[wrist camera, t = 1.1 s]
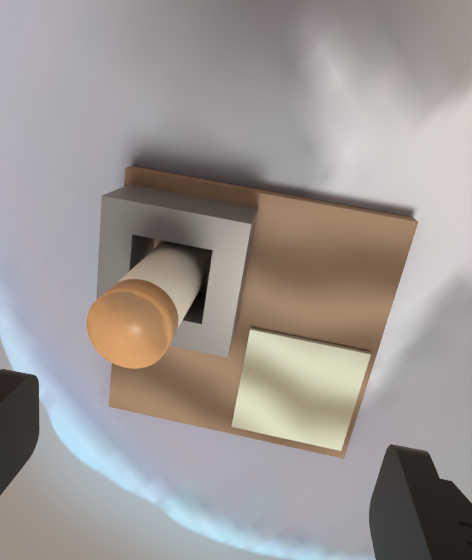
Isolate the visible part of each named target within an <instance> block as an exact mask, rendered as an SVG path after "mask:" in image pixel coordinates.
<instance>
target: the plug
mask: <svg viewBox="0 0 472 560" xmlns="http://www.w3.org/2000/svg"><path fill="white" fill-rule="evenodd" d="M212 253H213V250H209V249H204V248H199V247H194V246H189V245H184V244H178V243H173V242H168V241H162V242H161V243H160V244H159V245H158V246H157V247H156V248H154V249H153V250H152V251H151V252H150V253H149V254H148V255H147V256H146V257H145V258H144V259H142V260H141V261H140V262H139V263H138V264H137V265H136V266H135V267H134V268H133V269H132V270H130V271H129V272H128V273H127V274H126V275H125V276H124V277H123V278H122V279H121V280H119V281H118V282H117V283H116V284H114V285H113V286H112V287H110V288H109V289H108V290H107V291H106V292H105V293H104V294H103V295H101V296H100V297H99V298H98V299H97V300H96V301H95V302H94V303H93V305H92V306H91V308H90V310H89V312H88V315H87V322H86V325H87V333H88V336H89V339H90V341H91V343H92V345H93V346H94V348H95V349H96V350H97V352H98V353H99V354H100V355H101V356H103V357H104V358H105V359H106V360H108V361H109V362H111V363H113V364H115V365H118V366H121V367H124V368H131V369H137V368H144V367H147V366H150V365H152V364H154V363H156V362H157V361H158V360H159V359H160V358H161V357H162V356H163V355H164V354H165V352H166V350H167V348H168V347H169V345H170V343H171V341H172V340H173V338H174V336H175V334H176V331H177V329H178V327H179V325H180V324H181V322H182V320H183V318H184V317H185V315H186V313H187V311H188V310H189V308H190V306H191V304H192V303H193V301H194V299H195V297H196V296H197V294H198V292H199V290H200V289H201V287H202V285H203V283H204V282H205V280H206V278H207V276H208V275H209V273H210V266H211V259H212Z"/></svg>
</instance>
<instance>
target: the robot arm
mask: <svg viewBox="0 0 472 560" xmlns="http://www.w3.org/2000/svg"><path fill="white" fill-rule="evenodd" d="M38 436H39V382H38V379H37V377H36V376H35V375H31V374H26V373H21V372H16V371H10V370H5V369H2V370H0V495H1V494H2V493H3V491H4V490H5V489H6V487H7V486H8V485H9V484H10V482H11V481H12V480H13V478H14V477H15V476H16V475H17V474H18V472H19V471H20V470H21V468H22V467H23V466H24V465H25V463H26V462H27V461H28V459H29V458H30V457H31V455H32V453H33V451H34V449H35V446H36V443H37V440H38ZM369 524H370V532H371V537H372V542H373V547H374V552H375V558H376V560H472V504H471V502H470V501H469V500H468V499H467V498H466V497H465V495H464V494H463V493H462V492H461V491H460V490H459V489H458V488H457V487H456V485H455V484H454V483H453V482H452V481H448V480H443V479H440V478H439V476H438V473H437V471H436V469H435V466H434V464H433V461H432V459H431V457H430V455H429V453H428V452H427V451H423V450H418V449H413V448H408V447H403V446H397V445H392V444H391V445H390V446H389V447H388V448H387V450H386V453H385V456H384V459H383V463H382V466H381V469H380V472H379V475H378V479H377V482H376V485H375V488H374V491H373V494H372V498H371V503H370V511H369Z"/></svg>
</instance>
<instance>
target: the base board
mask: <svg viewBox="0 0 472 560" xmlns="http://www.w3.org/2000/svg"><path fill="white" fill-rule="evenodd" d="M130 184H135V185H140V186H145V187H151V188H156V189H161V190H167V191H172V192H177V193H183V194H188V195H193V196H199V197H204V198H209V199H215V200H220V201H225V202H231V203H236V204H242V205H247V206H252V207H258V208H259V209H258V214H257V220H256V225H255V231H254V236H253V242H252V248H251V253H250V259H249V264H248V270H247V275H246V281H245V286H244V292H243V297H242V303H241V308H240V314H239V320H238V325H237V328H236V332H235V335H234V338H233V342H232V345H231V349H230V352H229V355H228V358H226V357H221V356H217V355H212V354H207V353H202V352H198V351H193V350H188V349H183V348H179V347H174V346H169V347H168V348H167V350H166V352H165V354H164V355H163V356H162V357H161V358H160V359H159V360H158V361H157V362H156V363H154V364H152V365H150V366H147V367H144V368H137V369H131V368H124V367H121V366H118V365H115V364H113V363H112V370H111V384H110V398H109V407H113V408H118V409H123V410H127V411H132V412H136V413H141V414H145V415H150V416H154V417H159V418H163V419H168V420H172V421H177V422H181V423H186V424H190V425H195V426H199V427H204V428H208V429H213V430H217V431H222V432H226V433H231V434H235V435H240V436H244V437H249V438H253V439H258V440H262V441H267V442H271V443H276V444H280V445H285V446H289V447H294V448H298V449H303V450H307V451H312V452H316V453H321V454H325V455H330V456H334V457H339V458H343V459H344V456H345V453H346V450H347V447H348V444H349V440H350V437H351V434H352V431H353V428H354V424H355V421H356V418H357V415H358V412H359V409H360V405H361V402H362V399H363V396H364V393H365V389H366V386H367V383H368V380H369V377H370V374H371V370H372V367H373V364H374V361H375V358H376V354H377V351H378V348H379V345H380V342H381V339H382V335H383V332H384V329H385V326H386V323H387V320H388V316H389V313H390V310H391V307H392V304H393V300H394V297H395V294H396V291H397V288H398V285H399V281H400V278H401V275H402V272H403V269H404V265H405V262H406V259H407V256H408V253H409V250H410V246H411V243H412V240H413V237H414V234H415V230H416V227H417V224H418V222H417V221H416V220H415V219H414V218H413V217H408V216H403V215H397V214H392V213H386V212H381V211H375V210H370V209H365V208H359V207H354V206H348V205H343V204H337V203H332V202H327V201H321V200H316V199H310V198H305V197H299V196H294V195H289V194H283V193H278V192H272V191H267V190H261V189H256V188H250V187H245V186H240V185H234V184H229V183H223V182H218V181H212V180H207V179H202V178H196V177H191V176H185V175H180V174H174V173H169V172H164V171H158V170H153V169H147V168H142V167H136V166H131V167H128V168H126V169H125V183H124V187H125V186H128V185H130ZM162 241H163V240H158V239H154V248H156V247H157V246H158V245H159V244H160V243H161V242H162ZM154 248H153V249H154ZM208 280H209V275H208V276H207V278H206V280H205V282H204V283H203V285H202V287H201V289H200V290H199V292H202V293H207V286H208Z"/></svg>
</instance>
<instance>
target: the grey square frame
mask: <svg viewBox="0 0 472 560" xmlns="http://www.w3.org/2000/svg"><path fill="white" fill-rule="evenodd" d="M258 209H259V208H258V207H252V206H247V205H242V204H236V203H231V202H225V201H220V200H215V199H209V198H204V197H199V196H193V195H188V194H183V193H177V192H172V191H167V190H161V189H156V188H151V187H145V186H140V185H135V184H130V185H128V186H125V187H123V188H120V189H118V190H115V191H113V192H110V193H108V194H105V195H103V196H102V206H101V225H100V244H99V263H98V283H97V299H98V298H99V297H100V296H101V295H103V294H104V293H105V292H106V291H107V290H108V289H109V288H110V287H112V286H113V285H114V284H116V283H117V282H118V281H119V280H121V279H122V278H123V277H124V276H125V275H126V274H127V273H128V272H129V271H130V270H132V269H133V268H134V267H135V266H136V265H137V264H138V263H139V262H140V261H141V260H142V259H144V258H145V257H146V256H147V255H148V254H149V253H150V252H151V251H152V250H153V248H154V239H158V240H163V241H168V242H173V243H178V244H184V245H189V246H194V247H199V248H204V249H209V250H213V253H212V259H211V266H210V273H209V280H208V286H207V293H202V292H198V294H197V296H196V297H195V299H194V301H193V303H192V304H191V306H190V308H189V310H188V311H187V313H186V315H185V317H184V318H183V320H182V322H181V324H180V325H179V327H178V329H177V331H176V334H175V336H174V338H173V340H172V341H171V343H170V345H169V346H174V347H179V348H183V349H188V350H193V351H198V352H202V353H207V354H212V355H217V356H221V357H226V358H228V355H229V352H230V349H231V345H232V342H233V338H234V335H235V332H236V328H237V325H238V320H239V314H240V308H241V303H242V297H243V292H244V286H245V281H246V275H247V270H248V264H249V259H250V253H251V248H252V242H253V236H254V231H255V225H256V220H257V214H258Z"/></svg>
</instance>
